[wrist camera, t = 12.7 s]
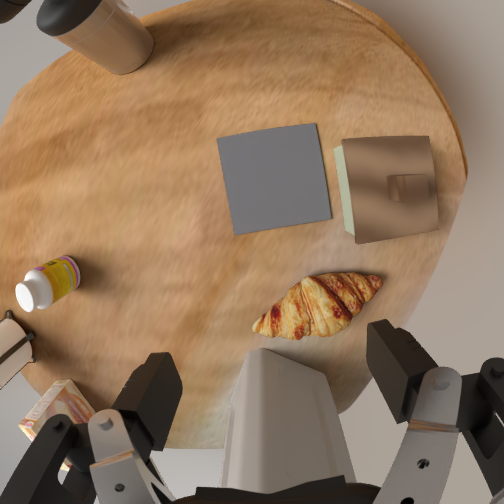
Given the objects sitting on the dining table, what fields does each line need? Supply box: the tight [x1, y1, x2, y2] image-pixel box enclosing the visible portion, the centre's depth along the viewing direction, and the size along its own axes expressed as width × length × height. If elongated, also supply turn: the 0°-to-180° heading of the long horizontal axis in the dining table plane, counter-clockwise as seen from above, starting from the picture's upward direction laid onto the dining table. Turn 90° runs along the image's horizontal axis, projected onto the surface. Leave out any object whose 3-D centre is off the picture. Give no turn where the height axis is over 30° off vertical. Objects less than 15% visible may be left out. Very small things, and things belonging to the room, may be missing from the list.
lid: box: [341, 136, 439, 244], centre depth 28 cm, size 13×13×6 cm
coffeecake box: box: [19, 379, 96, 471], centre depth 42 cm, size 15×7×20 cm, turn 20°
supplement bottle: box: [16, 256, 80, 312], centre depth 36 cm, size 7×7×13 cm
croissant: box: [252, 272, 383, 340], centre depth 39 cm, size 21×10×8 cm, turn 114°
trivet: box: [217, 123, 331, 235], centre depth 37 cm, size 14×14×1 cm
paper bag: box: [219, 348, 357, 494], centre depth 32 cm, size 19×15×28 cm
